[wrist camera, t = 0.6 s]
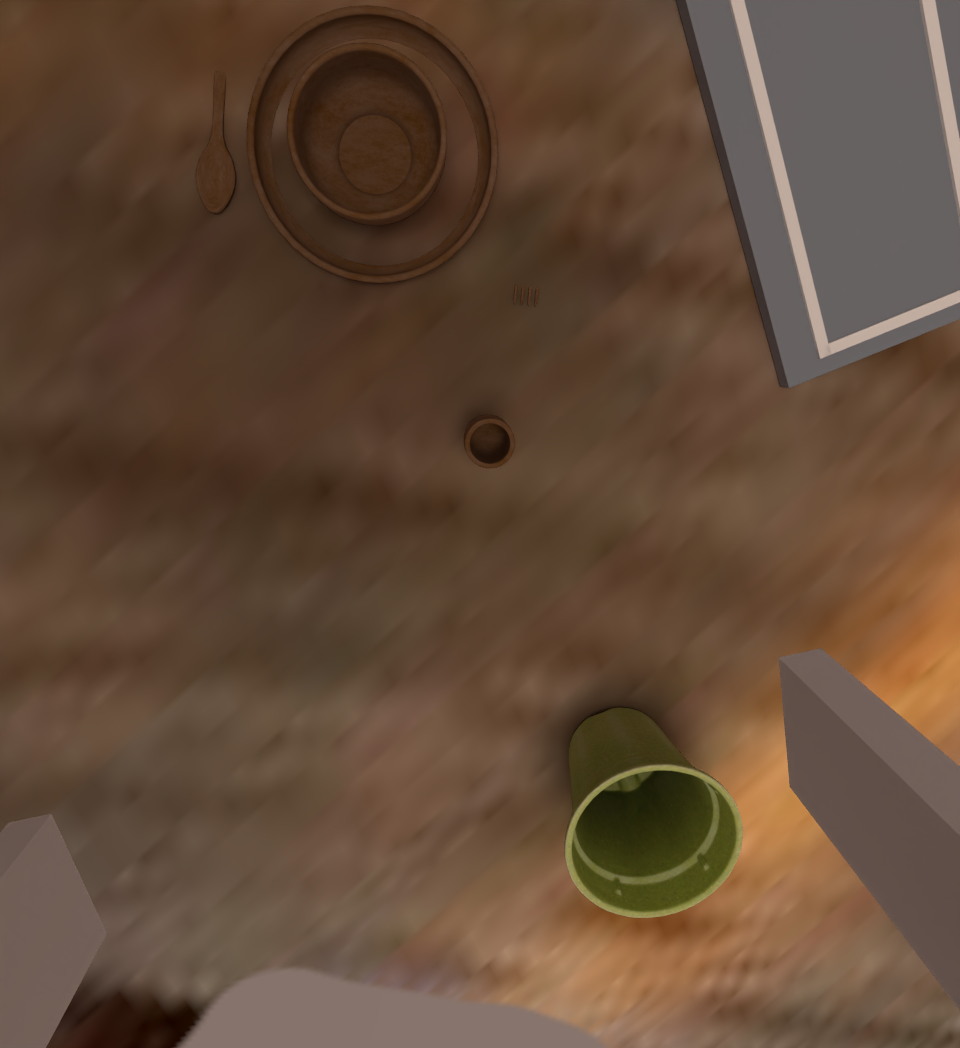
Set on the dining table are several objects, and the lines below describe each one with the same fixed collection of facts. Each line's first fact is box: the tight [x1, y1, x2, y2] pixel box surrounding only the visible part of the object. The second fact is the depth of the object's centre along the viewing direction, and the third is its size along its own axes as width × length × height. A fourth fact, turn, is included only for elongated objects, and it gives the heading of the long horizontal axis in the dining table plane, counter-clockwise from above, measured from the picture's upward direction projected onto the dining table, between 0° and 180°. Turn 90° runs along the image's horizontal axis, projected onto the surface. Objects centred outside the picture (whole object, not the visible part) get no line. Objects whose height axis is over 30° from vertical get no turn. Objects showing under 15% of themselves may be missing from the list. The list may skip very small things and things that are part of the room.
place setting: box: [196, 5, 539, 468], centre depth 33 cm, size 18×20×6 cm
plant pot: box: [565, 707, 743, 918], centre depth 40 cm, size 9×9×9 cm
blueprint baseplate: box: [676, 0, 960, 388], centre depth 34 cm, size 26×13×1 cm, turn 22°
